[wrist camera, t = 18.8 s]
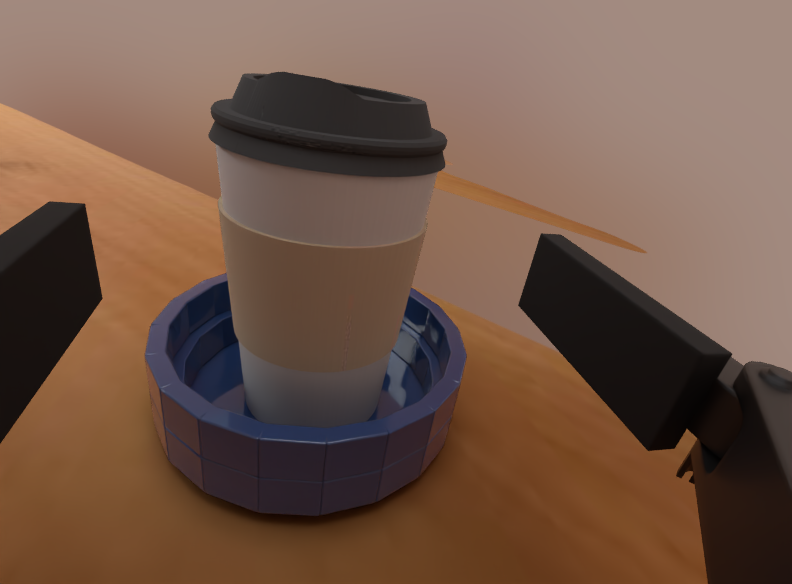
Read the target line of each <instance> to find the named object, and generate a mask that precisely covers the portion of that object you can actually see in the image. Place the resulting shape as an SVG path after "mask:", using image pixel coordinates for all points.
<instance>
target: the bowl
mask: <svg viewBox="0 0 792 584" xmlns="http://www.w3.org/2000/svg"><path fill="white" fill-rule="evenodd" d="M466 358H467V354H466V351H465V348H464V345H463V341H462V338H461V335H460V331H459V329H458V328H457V326H456V325H455V324H454V323H453V322H452V320H451V319H450V318H449V317H448V316H447V315H446V313H445V312H444V311H443V310H442V309H441V308H440V306H438V305H437V304H435V303H434V302H432V301H431V300H430V299H428V298H427V297H425V296H424V295H422V294H421V293H419V292H418V291H416V290H415V289H413V288H411V290H410V294H409V297H408V301H407V305H406V309H405V313H404V316H403V320H402V324H401V328H400V332H399V335H398V339H397V342H396V344H395V346H394V347H393V349H392V350H391V354H390V358H389V362H388V366H387V370H386V373H385V377H384V381H383V385H382V389H381V393H380V397H379V401H378V404H377V407H376V409H375V411H374V413H373V414H372V416H371V417H370V418H369V419H368V420H367V421H366V422H360V423H353V424H347V425H341V426H334V427H328V428H321V427H308V426H295V425H282V424H269V423H264V422H261V421H258V420H257V419H256V418H255V417H254V416H253V414H252V413H251V412H250V410H249V408H248V406H247V403H246V399H245V391H244V382H243V374H242V365H241V357H240V348H239V340H238V339H237V337H236V335H235V332H234V327H233V319H232V311H231V303H230V295H229V287H228V279H227V273H225V274H222V275H219V276H216V277H213V278H210V279H207V280H204V281H202V282H200V283H199V284H197V285H195V286H194V287H192V288H191V289H189V290H187V291H186V292H184V293H182V294H181V295H179V296H177V297H176V298H174V299H173V300H171V301H170V302H169V304H168V305H167V306H166V307H165V308H164V310H163V311H162V312H161V313H160V314H159V315H158V317H157V318H156V319H155V320H154V321H153V323H152V324H151V326H150V330H149V336H148V341H147V346H146V351H145V362H146V369H147V376H148V383H149V390H150V397H151V404H152V411H153V418H154V425H155V428H156V430H157V433H158V435H159V438H160V440H161V443H162V445H163V448H164V450H165V453H166V455H167V458H168V460H169V461H170V462H171V463H172V464H173V465H174V466H175V467H176V468H178V469H179V470H180V471H181V472H182V473H183V474H184V475H186V476H187V477H188V478H189V479H190V480H191V481H192V482H193V483H195V484H196V485H197V486H198V487H199V488H200V489H201V490H203V491H204V492H205V493H206V494H209V495H212V496H214V497H217V498H220V499H222V500H225V501H228V502H230V503H233V504H236V505H238V506H241V507H244V508H246V509H249V510H252V511H255V512H259V513H271V514H289V515H307V516H319V515H325V514H329V513H334V512H338V511H342V510H346V509H351V508H355V507H359V506H364V505H368V504H372V503H375V502H378V501H380V500H381V499H383V498H385V497H386V496H388V495H390V494H391V493H393V492H395V491H397V490H398V489H400V488H402V487H403V486H405V485H407V484H408V483H410V482H412V481H413V480H415V479H417V478H418V477H419V476H420V475H421V474H422V473H423V472H424V470H425V469H426V468H427V466H428V465H429V464H430V463H431V461H432V460H433V459H434V458H435V456H436V455H437V454H438V453H439V451H440V450H441V449H442V447H443V446H444V443H445V439H446V435H447V432H448V428H449V424H450V421H451V417H452V413H453V410H454V406H455V402H456V398H457V395H458V391H459V387H460V384H461V379H462V375H463V371H464V367H465V362H466Z"/></svg>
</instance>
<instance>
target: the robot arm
mask: <svg viewBox="0 0 792 584" xmlns="http://www.w3.org/2000/svg"><path fill="white" fill-rule="evenodd" d="M102 299H103V298H102V293H101V287H100V282H99V277H98V271H97V266H96V261H95V255H94V250H93V245H92V239H91V234H90V228H89V223H88V218H87V212H86V207H85V204H80V203H65V202H48V203H47V204H45V205H44V206H42V207H41V208H39V209H38V210H36V211H35V212H33V213H32V214H31V215H29V216H28V217H26V218H25V219H23V220H22V221H20V222H19V223H17V224H16V225H14V226H13V227H11V228H10V229H9V230H7V231H6V232H4V233H3V234H1V235H0V443H1V442H2V441H3V439H4V438H5V436H6V435H7V433H8V432H9V431H10V429H11V428H12V426H13V425H14V423H15V422H16V421H17V419H18V418H19V416H20V415H21V414H22V412H23V411H24V409H25V408H26V406H27V405H28V404H29V402H30V401H31V399H32V398H33V397H34V395H35V394H36V392H37V391H38V389H39V388H40V387H41V385H42V384H43V382H44V381H45V379H46V378H47V377H48V375H49V374H50V372H51V371H52V370H53V368H54V367H55V365H56V364H57V362H58V361H59V360H60V358H61V357H62V355H63V354H64V352H65V351H66V350H67V348H68V347H69V345H70V344H71V343H72V341H73V340H74V338H75V337H76V335H77V334H78V333H79V331H80V330H81V328H82V327H83V325H84V324H85V323H86V321H87V320H88V318H89V317H90V316H91V314H92V313H93V311H94V310H95V308H96V307H97V306H98V304H99V303H100V301H101V300H102ZM518 306H519V307H520V308H521V309H522V310H523V311H524V312H525V313H526V315H527V316H528V317H529V318H530V319H531V320H532V321H533V322H534V323H535V325H536V326H537V327H538V328H539V329H540V330H541V331H542V333H543V334H544V335H545V336H546V337H547V338H548V339H549V340H550V341H551V343H552V344H553V345H554V346H555V347H556V348H557V349H558V350H559V352H560V353H561V354H562V355H563V356H564V357H565V358H566V359H567V361H568V362H569V363H570V364H571V365H572V366H573V367H574V368H575V370H576V371H577V372H578V373H579V374H580V375H581V376H582V377H583V378H584V380H585V381H586V382H587V383H588V384H589V385H590V386H591V387H592V389H593V390H594V391H595V392H596V393H597V394H598V395H599V396H600V398H601V399H602V400H603V401H604V402H605V403H606V404H607V405H608V407H609V408H610V409H611V410H612V411H613V412H614V413H615V414H616V415H617V417H618V418H619V419H620V420H621V421H622V422H623V423H624V424H625V426H626V427H627V428H628V429H629V430H630V431H631V432H632V433H633V435H634V436H635V437H636V438H637V439H638V440H639V441H640V442H641V444H642V445H643V446H644V447H645V448H646V449H647V450H648V451H652V450H664V449H675V447H676V445H677V444H678V442H679V440H680V439H681V437H682V436H683V434H684V432H685V431H686V429H688V430H689V431H690V432H691V433H692V434H693V435H695V436H696V437H697V438H698V439H697V441H696V442H695V444H694V445H693V447H692V449H691V450H690V452H689V453H688V455H687V456H686V458H685V460H684V461H683V463H682V464H681V466H680V467H679V469H678V471H677V475H676V476H677V477H679V478H682V477H683V475H684V474H685V472H687V471H693V475H692V477H691V478H690V480H689V482H691V483H693V484H695V489H696V497H697V504H698V512H699V519H700V527H701V534H702V542H703V549H704V557H705V564H706V572H707V579H708V584H792V372H790V371H788V370H786V369H783V368H780V367H776V366H774V365H770V364H767V363H763V362H752V361H751V362H748V363H746V364H745V365H744V366H743V365H742V364H740V363H739V362H737V361H736V360H734V359H733V358H732V357H731V355H732V353H731V352H729V351H727V350H726V349H725V348H723V347H722V346H720V345H719V344H718V343H716V342H715V341H713V340H712V339H710V338H709V337H707V336H706V335H705V334H703V333H702V332H700V331H699V330H697V329H696V328H695V327H693V326H692V325H690V324H689V323H687V322H686V321H685V320H683V319H682V318H680V317H679V316H677V315H676V314H674V313H673V312H672V311H670V310H669V309H667V308H666V307H664V306H663V305H661V304H660V303H659V302H657V301H656V300H654V299H653V298H651V297H650V296H648V295H647V294H646V293H644V292H643V291H641V290H640V289H638V288H637V287H636V286H634V285H633V284H631V283H630V282H628V281H627V280H625V279H624V278H623V277H621V276H620V275H618V274H617V273H615V272H614V271H612V270H611V269H610V268H608V267H607V266H605V265H604V264H602V263H601V262H599V261H598V260H597V259H595V258H594V257H592V256H591V255H589V254H588V253H587V252H585V251H584V250H582V249H581V248H579V247H578V246H577V245H575V244H574V243H572V242H571V241H569V240H568V239H566V238H565V237H564V236H562V235H556V234H541V235H540V238H539V241H538V245H537V248H536V251H535V254H534V257H533V260H532V264H531V267H530V270H529V273H528V276H527V279H526V283H525V286H524V289H523V292H522V295H521V298H520V302H519V305H518Z"/></svg>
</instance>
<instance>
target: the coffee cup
mask: <svg viewBox="0 0 792 584" xmlns="http://www.w3.org/2000/svg"><path fill="white" fill-rule="evenodd" d="M211 114H212V117H213V119H214V120H215V122H214V124H213V126H212V128H211V130H210V132H209V138H210V140H211V141H212V142H214V143H215V144H216V152H217V161H218V169H219V178H220V186H221V194H222V196H221V197H220V198H219V201H218V208H219V216H220V224H221V232H222V240H223V248H224V256H225V264H226V271H227V279H228V287H229V295H230V303H231V311H232V319H233V327H234V332H235V335H236V337H237V339H238V340H239V348H240V357H241V365H242V374H243V382H244V391H245V399H246V403H247V406H248V408H249V410H250V412H251V413H252V414H253V416H254V417H255V418H256V419H257V420H258V421H261V422H264V423H269V424H282V425H295V426H308V427H321V428H328V427H334V426H341V425H347V424H353V423H360V422H366V421H367V420H368V419H369V418H370V417H371V416H372V414H373V413H374V411H375V409H376V407H377V404H378V401H379V397H380V393H381V389H382V385H383V381H384V377H385V373H386V370H387V366H388V362H389V358H390V354H391V350H392V349H393V347H394V346H395V344H396V342H397V339H398V335H399V332H400V328H401V324H402V320H403V316H404V313H405V309H406V305H407V301H408V297H409V294H410V290H411V286H412V282H413V278H414V275H415V270H416V267H417V263H418V259H419V256H420V251H421V248H422V244H423V240H424V237H425V233H426V229H427V224H428V223H427V219H426V215H427V211H428V207H429V203H430V200H431V196H432V192H433V188H434V184H435V181H436V177H437V173H438V171H441V170H442V169H443V168H444V167H445V161H444V157H443V150H444V149H445V147H446V144H447V139H446V137H445V135H444V134H443V133H441V132H439V131H437V130H435V129H433V128H431V124H430V119H429V115H428V110H427V105H426V102H425V101H422V100H420V99H416V98H413V97H409V96H405V95H401V94H396V93H392V92H387V91H382V90H376V89H371V88H365V87H360V86H354V85H348V84H341V83H335V82H332V81H330V80H326V79H322V78H315V77H310V76H304V75H298V74H293V73H287V72H275V73H271V74H243V75H242V77H241V80H240V82H239V84H238V87H237V89H236V91H235V93H234V96H233V98H232V99H226V100H220V101H217V102H215V103H214V104H213V105H212V107H211Z"/></svg>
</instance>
